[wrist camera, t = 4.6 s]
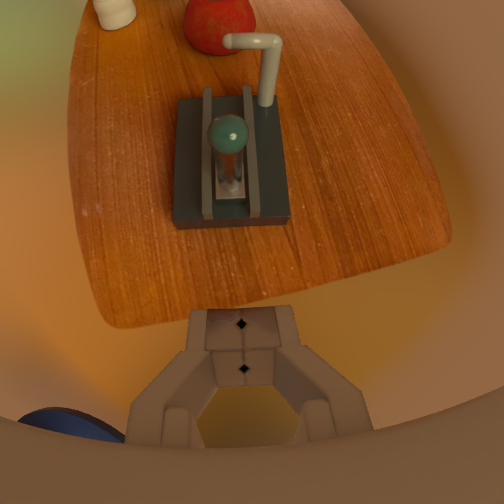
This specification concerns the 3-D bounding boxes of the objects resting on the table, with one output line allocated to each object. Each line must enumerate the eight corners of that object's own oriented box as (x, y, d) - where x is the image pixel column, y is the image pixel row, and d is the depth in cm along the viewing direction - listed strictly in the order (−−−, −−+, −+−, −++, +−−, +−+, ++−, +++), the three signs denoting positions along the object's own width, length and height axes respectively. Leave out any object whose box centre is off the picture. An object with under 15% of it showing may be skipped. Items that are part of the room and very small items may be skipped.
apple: (182, 30, 42) (175, -19, 31) (245, 20, 43) (248, -29, 32) (190, 68, 40) (181, 13, 29) (262, 57, 41) (268, 2, 30)
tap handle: (215, 205, 32) (204, 146, 21) (214, 170, 33) (205, 102, 22) (246, 203, 32) (251, 144, 21) (244, 168, 33) (248, 100, 22)
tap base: (177, 229, 34) (143, 174, 21) (181, 113, 38) (164, 34, 24) (286, 224, 35) (314, 167, 21) (273, 109, 38) (287, 29, 25)
